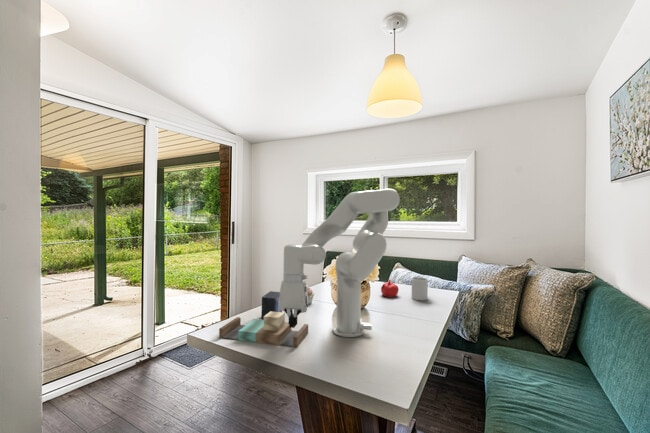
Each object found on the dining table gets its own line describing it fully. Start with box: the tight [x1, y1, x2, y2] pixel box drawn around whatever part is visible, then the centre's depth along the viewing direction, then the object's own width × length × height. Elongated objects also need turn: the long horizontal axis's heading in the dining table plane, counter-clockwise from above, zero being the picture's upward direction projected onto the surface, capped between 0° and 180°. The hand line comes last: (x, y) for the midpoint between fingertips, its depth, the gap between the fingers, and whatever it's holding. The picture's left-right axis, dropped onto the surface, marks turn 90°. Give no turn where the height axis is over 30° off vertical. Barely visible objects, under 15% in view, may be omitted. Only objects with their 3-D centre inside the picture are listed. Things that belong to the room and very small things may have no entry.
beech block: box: [264, 311, 286, 331], centre depth 116 cm, size 6×6×5 cm
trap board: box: [218, 316, 309, 348], centre depth 117 cm, size 31×13×4 cm, turn 76°
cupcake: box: [306, 284, 315, 306], centre depth 159 cm, size 9×9×10 cm
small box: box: [260, 290, 283, 320], centre depth 137 cm, size 11×6×10 cm, turn 168°
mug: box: [411, 276, 429, 301], centre depth 171 cm, size 12×8×11 cm
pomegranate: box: [380, 279, 399, 298], centre depth 175 cm, size 10×10×9 cm
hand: (292, 326), depth 114 cm, fingers closed
